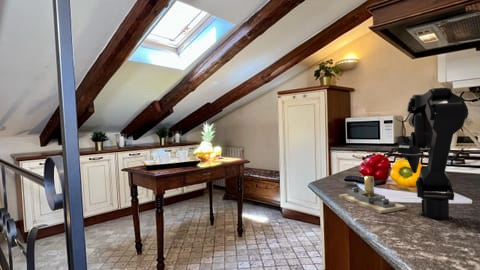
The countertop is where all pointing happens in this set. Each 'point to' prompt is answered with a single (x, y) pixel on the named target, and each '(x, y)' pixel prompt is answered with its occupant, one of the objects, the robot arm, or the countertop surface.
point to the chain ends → (370, 198)
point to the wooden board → (372, 206)
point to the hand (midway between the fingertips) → (424, 171)
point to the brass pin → (369, 186)
